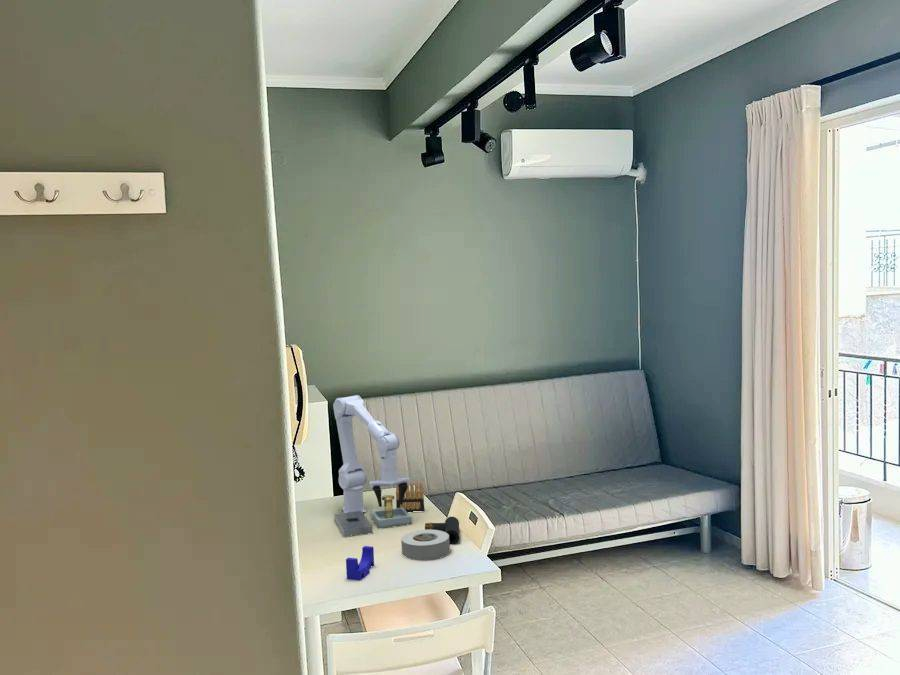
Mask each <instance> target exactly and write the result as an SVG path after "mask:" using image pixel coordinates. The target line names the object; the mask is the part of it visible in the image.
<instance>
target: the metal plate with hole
mask: <svg viewBox="0 0 900 675" xmlns="http://www.w3.org/2000/svg"><path fill="white" fill-rule="evenodd" d="M333 517H334V519H333V520H334V523H335V525H336V526H337V525H338V526H337V527H339V528H338V529H339V531H340V530H341V531H340V533H341V532H342V533H341V534H343V535H342V536H343V537H344V536H349V537H352V536H351V535H357V536H361V535H360V534H364V535H369V534H368V533H372V534H373V533H374V532H373V525H372V524H371V522H370V521H369V519H368V518H367V516H366V515H365V514H364V513H362V511H356V512H347V513H344V512H342V513H341V512H340V513H334V514H333Z"/></svg>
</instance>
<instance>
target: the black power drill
mask: <svg viewBox="0 0 900 675" xmlns="http://www.w3.org/2000/svg"><path fill="white" fill-rule="evenodd" d="M424 530H439V531H444V532H446V533H448V534H449V542H450V545H456V544H458V542H459V540H460V521H459V519H458V518H457V517H456V516H449V517H447V518H446V519H445V521H444V522H425V523H424Z"/></svg>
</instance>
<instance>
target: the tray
mask: <svg viewBox="0 0 900 675" xmlns="http://www.w3.org/2000/svg"><path fill="white" fill-rule="evenodd" d="M370 512H371V514H370V516H371V517H370V518H371V520H373V521H374V522H373V521H372V522H373V523H374V525H375V524H376V525H377V526H376V525H375V526H376V528H377V529H378V528H382V529H387V528H386V527H389V528H394V527H393V526H397V527H401V526H400V525H404V526H408V525H407V524H412V516H411V513H408V512H407V511H406V510H405V509H404V508H393V518H387V519H385V512H384V509H380V510H373V511H370Z"/></svg>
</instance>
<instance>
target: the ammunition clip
mask: <svg viewBox="0 0 900 675" xmlns="http://www.w3.org/2000/svg"><path fill="white" fill-rule="evenodd" d="M407 485H408V488H407V490H406V492H405V495H404V498H403V504H402V505H401V504H400V503H399V487H398V485H395V486H396V487H395V503H396V506H395V507H396V508H404V509H405V510H406V511H407V512H412V513H414V512H413V511H425V510H426V508H425V500H424V499H425V498H424V497H425V496H424V495H425V494H424V493H425V492H424V487H423V486H424V484H423V481H422V480H420V481H419V483H418V481H417V480H415V482H413V480H410V484H407Z"/></svg>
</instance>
